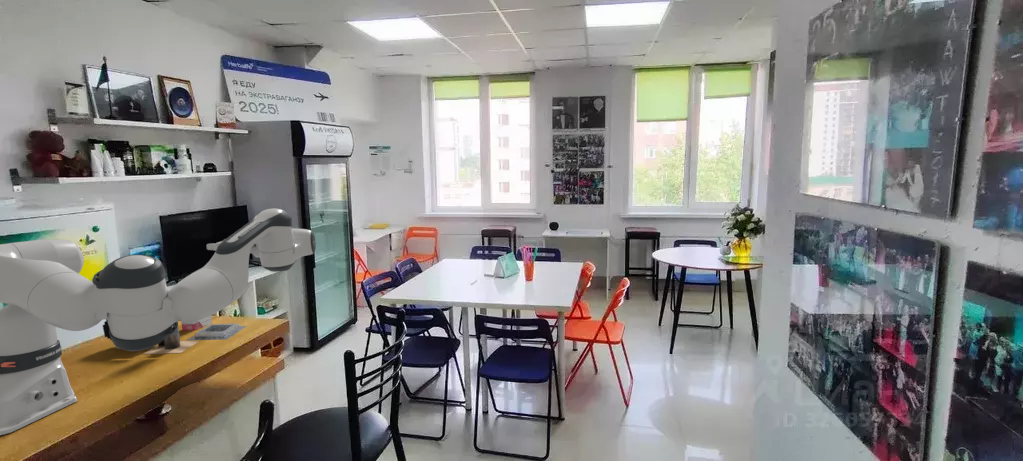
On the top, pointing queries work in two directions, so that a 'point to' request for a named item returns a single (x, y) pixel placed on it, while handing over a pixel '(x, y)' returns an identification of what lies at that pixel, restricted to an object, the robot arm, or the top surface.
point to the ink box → (196, 324)
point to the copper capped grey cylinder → (172, 340)
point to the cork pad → (161, 349)
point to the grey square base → (217, 332)
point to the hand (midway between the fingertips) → (216, 244)
